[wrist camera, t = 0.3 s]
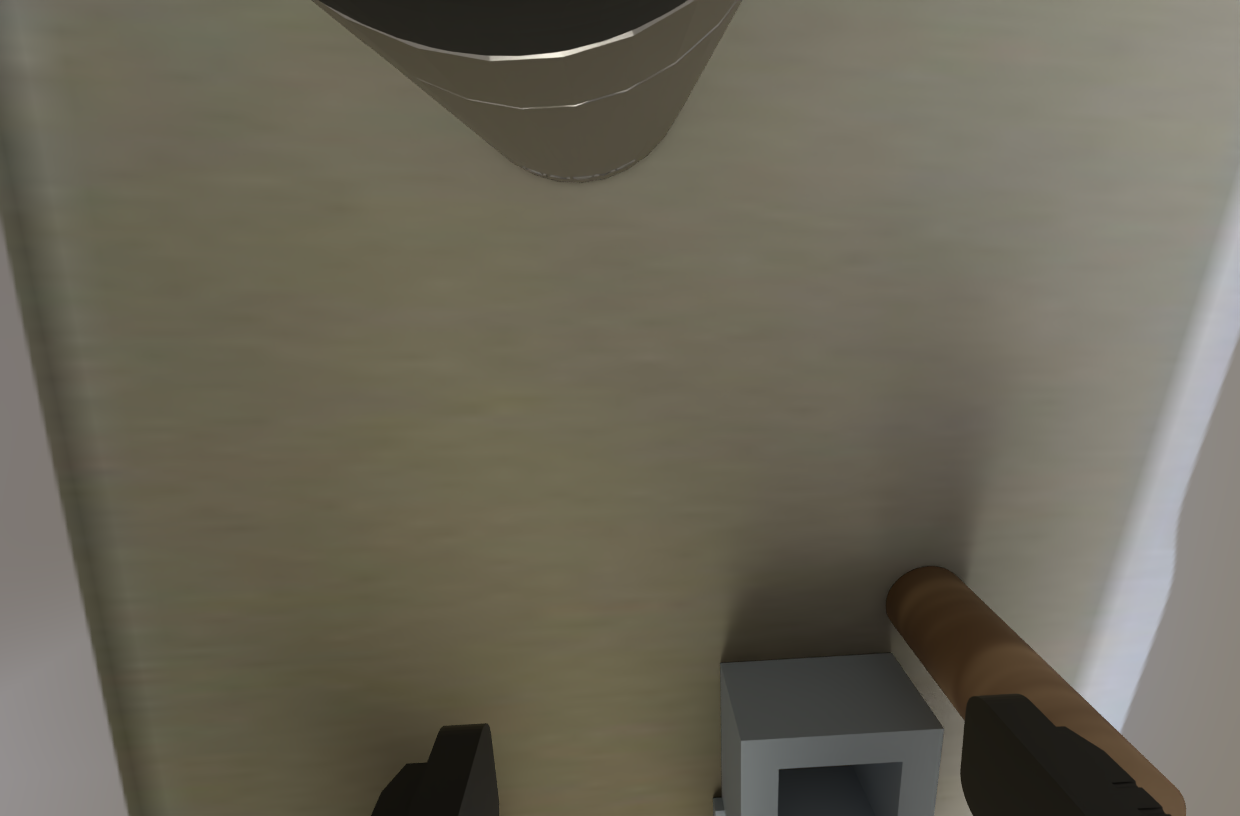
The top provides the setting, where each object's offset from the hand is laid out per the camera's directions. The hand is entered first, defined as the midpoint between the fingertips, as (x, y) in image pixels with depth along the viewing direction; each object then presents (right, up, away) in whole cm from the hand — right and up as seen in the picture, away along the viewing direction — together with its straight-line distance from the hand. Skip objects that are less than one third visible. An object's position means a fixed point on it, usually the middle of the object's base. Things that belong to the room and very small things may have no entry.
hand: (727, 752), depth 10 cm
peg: (+14, -4, +20) cm, 25 cm away
